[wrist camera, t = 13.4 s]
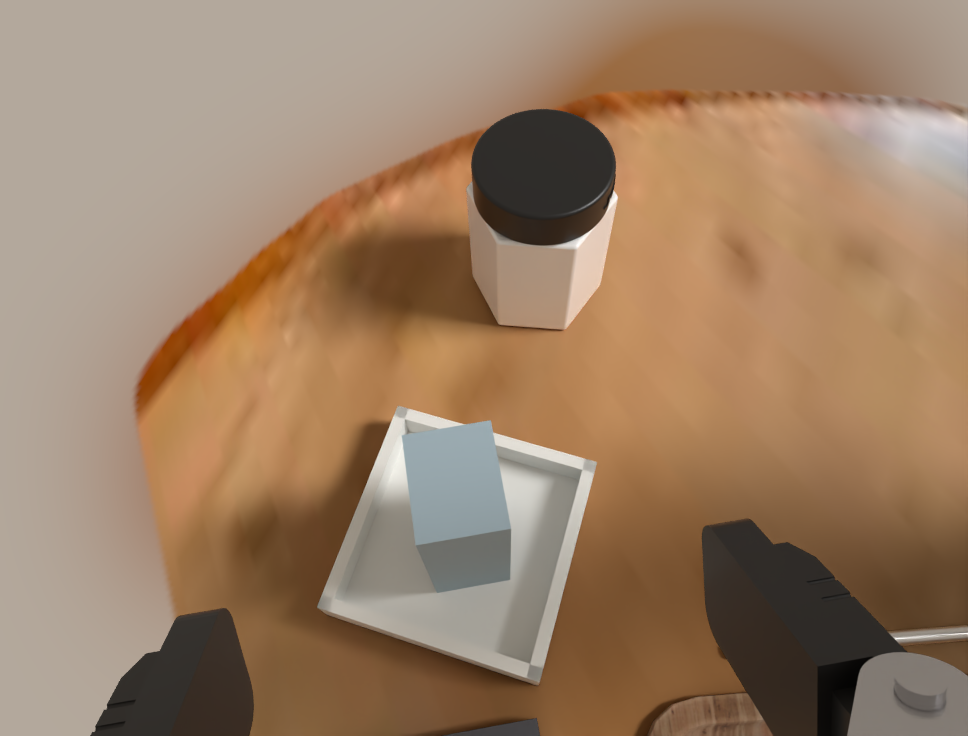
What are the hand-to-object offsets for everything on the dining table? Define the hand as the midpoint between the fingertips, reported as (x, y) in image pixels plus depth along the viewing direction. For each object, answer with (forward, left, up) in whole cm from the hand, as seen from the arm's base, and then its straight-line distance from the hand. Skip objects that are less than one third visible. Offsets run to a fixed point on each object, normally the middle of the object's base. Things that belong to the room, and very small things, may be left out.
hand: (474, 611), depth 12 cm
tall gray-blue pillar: (-8, -4, -30) cm, 31 cm away
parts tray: (-8, -4, -31) cm, 32 cm away
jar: (-27, -5, -31) cm, 41 cm away
